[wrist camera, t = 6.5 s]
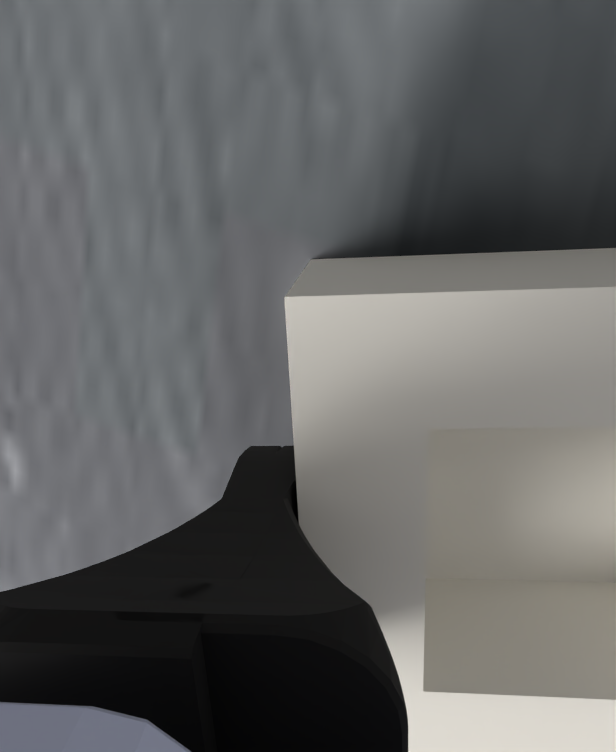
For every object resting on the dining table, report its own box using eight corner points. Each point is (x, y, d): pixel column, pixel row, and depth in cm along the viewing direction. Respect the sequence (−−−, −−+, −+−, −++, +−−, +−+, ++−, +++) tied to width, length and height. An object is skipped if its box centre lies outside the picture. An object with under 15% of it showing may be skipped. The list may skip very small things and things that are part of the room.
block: (703, 626, 14) (833, 798, 10) (327, 615, 14) (314, 768, 11) (787, 241, 11) (1018, 274, 7) (310, 259, 12) (284, 297, 8)
